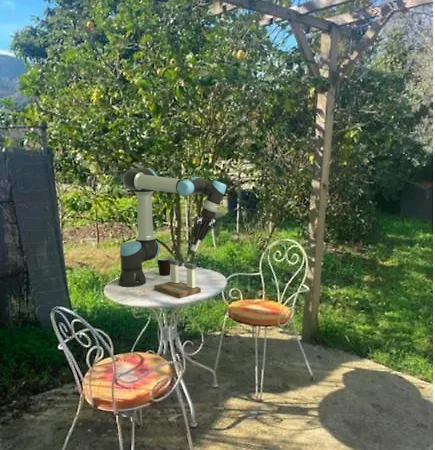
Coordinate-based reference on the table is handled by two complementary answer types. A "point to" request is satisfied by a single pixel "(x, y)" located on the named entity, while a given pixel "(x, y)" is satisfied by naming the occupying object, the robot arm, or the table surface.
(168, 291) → the wooden base board
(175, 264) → the lever
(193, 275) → the lever
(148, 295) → the table surface
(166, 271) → the coffee mug
